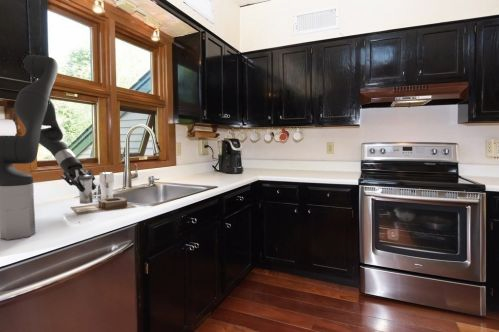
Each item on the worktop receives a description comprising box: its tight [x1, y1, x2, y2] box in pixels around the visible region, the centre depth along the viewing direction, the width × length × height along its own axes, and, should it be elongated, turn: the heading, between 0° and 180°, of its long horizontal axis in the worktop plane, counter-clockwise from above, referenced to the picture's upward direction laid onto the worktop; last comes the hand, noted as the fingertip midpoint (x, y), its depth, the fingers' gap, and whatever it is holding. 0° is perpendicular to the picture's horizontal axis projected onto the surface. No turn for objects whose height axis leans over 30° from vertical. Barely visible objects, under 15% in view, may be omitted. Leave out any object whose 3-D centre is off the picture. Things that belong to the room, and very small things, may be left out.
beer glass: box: [99, 171, 115, 199], centre depth 153 cm, size 7×7×15 cm
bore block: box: [70, 196, 137, 216], centre depth 131 cm, size 18×24×4 cm
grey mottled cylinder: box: [78, 174, 94, 205], centre depth 126 cm, size 6×6×12 cm
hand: (88, 189), depth 126 cm, fingers closed on grey mottled cylinder, 5 cm apart
